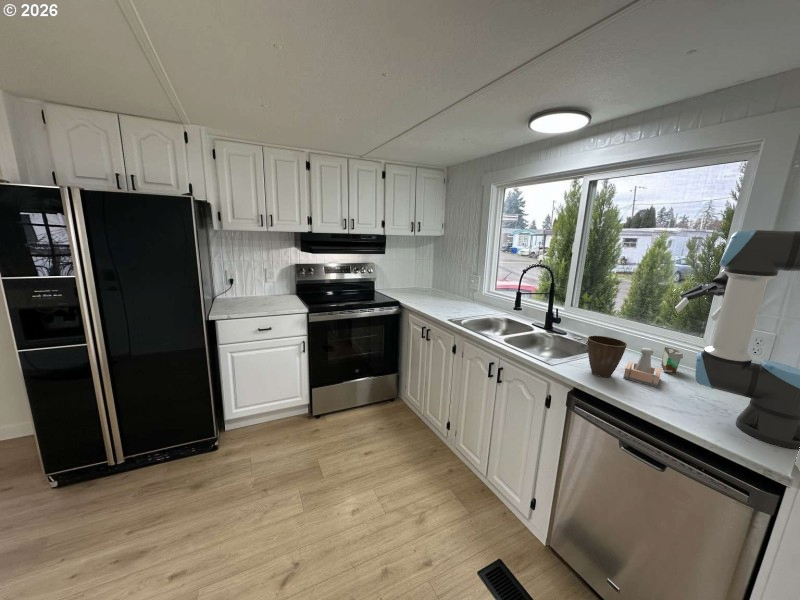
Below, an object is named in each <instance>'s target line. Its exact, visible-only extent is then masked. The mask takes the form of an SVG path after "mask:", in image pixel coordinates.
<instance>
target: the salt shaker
mask: <svg viewBox="0 0 800 600" xmlns="http://www.w3.org/2000/svg"><path fill="white" fill-rule="evenodd" d="M640 353H641V355H640V357H639V360H638V361H637V362H636V363H637V365H636V367H635V370H639V371H642V372H646V373H650V374H651V367H652V366H651V365H652V360H651V359H652V358H651V357H652V356H653V354H654V349H652V348H650V347H642V348H641V349H640Z"/></svg>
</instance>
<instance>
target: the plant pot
mask: <svg viewBox="0 0 800 600" xmlns="http://www.w3.org/2000/svg"><path fill="white" fill-rule="evenodd" d="M627 347H628V343H627V342H626V341H623V340H620V339H617V338H615V337H614V338H613V337H609V336H604V335H589V336H587V355H588V362H589V367H590V370H591V373H592V374H593V375H595V376H598V377H600V378H601V377H603V378H610V377H612V375H613V373H615V370H616V369H617V367H618V366H619V365H620V362H621V360H622V358H623V356H624V354H625V351H626V349H627Z"/></svg>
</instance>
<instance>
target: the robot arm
mask: <svg viewBox="0 0 800 600" xmlns="http://www.w3.org/2000/svg"><path fill="white" fill-rule="evenodd" d="M719 266H720V267H724V268H723V269H722V270H721V271H720V272H719V273H718V274H717V275H716V276H715V277H714V278H713V280H712V281H711V282H710V283H708V284H707V283H706V282H705V281H701V282H700V283H699V284H698V285H696V286H694V287H691V288H690V289H687V290H686V291H684V292H681V293H680V294H679V296H680V299H679V301H678V303H677V304H676V305H675V307H674V309H675V311H676V313H680V312H681V311H682V310H683V309H684V308H685V307H686V306H687V305H688V304H689V303H690V300H694V299H698V298H700V297H704V296H717V297H721V296H722V303H721V305H720V306H719V307H718V308H717V309H716V310H715V311H714V312H713V313H712V314H711V315H710V317H711V319H712V321H717V322H716V325H715V330H714V333H713V338H712V341H711V344H710V345H707V346H705V347H704V348H703V350H702V351H697V353H696V362H695V376H694V377H695V382H696V383H697V384H699V385H700V386H704V387H708V388H710V389H712V390H717V391H720V392H721V391H722V392H725V393H730V394H733V395H736V396H741V397H745V398H747V399H750V401H749V404H748V405H747V406H746V407H745V408H744V409H743V410H742V411H741V412H740V413H739V415H738V416H737V417H736V421H735V426H736V427H737V428H738V429H739V430H741V431H742V432H744V433H746V434H748V435H749V436H751V437H753V438H756V439H758V440H760V441H762V442H766V443H768V444H770V445H775V446H778V447H782V448H787V449H792V450H793V449H794V450H800V449H799V447H800V368H797V367H795V366H791V365H789V364H786V363H781V362H778V361H773V360H765V359H764V360H762V361H761V362H759V363H755V362H752V361H753V357H752V355H750V353H749V352H748V350H749V347H750V344H751V341H752V336H753V333H754V329H755V327H756V326H755V325H756V323H757V320H758V319H757V318H758V316H759V313H760V309H761V305H762V303H763V299H764V295H765V291H766V288H767V284H768V282H769V281H770V280H772V279H775V278H777V277H778V273H779V271H785V272H786V271H787V272H800V230H770V229H769V230H767V229H766V230H762V229H761V230H760V229H749V230H748V229H747V230H746V229H744V230H737V231H735V232H733V233H732V234H731V236H730V239H729V240H728V242H727V246H726V247H725V250H724V252H723V254H722V257H721V259H720V261H719Z"/></svg>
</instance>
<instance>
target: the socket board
mask: <svg viewBox="0 0 800 600" xmlns="http://www.w3.org/2000/svg"><path fill="white" fill-rule="evenodd" d="M633 362H634V361H628V362H627V364H626V366H625V368H624V373H623V379H626V380H629V381H634V382H635V383H636V382H637V383H639V384H644V385H648V386H652V387H656V388H658V386H659V381H660V377H661V373H662V368H658V367H657V368H656V367H654V366H651V374H650V373H646V372H642V371H639V370H635V367H636V365H637V363H638V362H634V364H633ZM655 370H656V371H655Z"/></svg>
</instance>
